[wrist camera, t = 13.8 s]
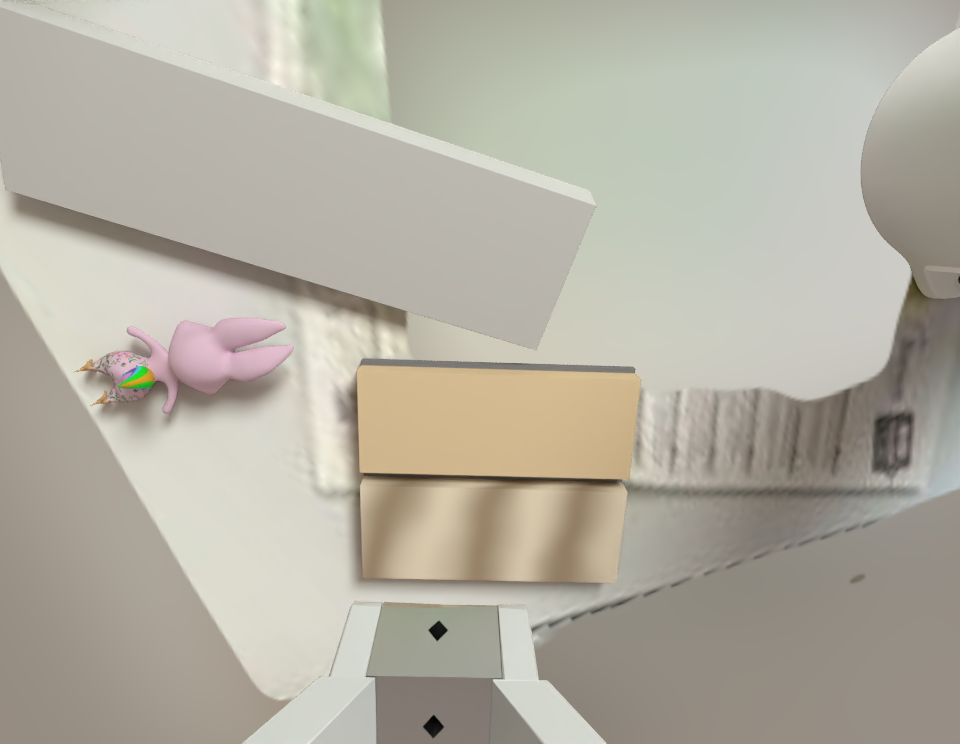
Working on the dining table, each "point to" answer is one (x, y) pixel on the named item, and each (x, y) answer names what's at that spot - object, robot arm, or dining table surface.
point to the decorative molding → (280, 178)
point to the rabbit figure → (193, 359)
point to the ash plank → (491, 529)
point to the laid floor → (496, 420)
